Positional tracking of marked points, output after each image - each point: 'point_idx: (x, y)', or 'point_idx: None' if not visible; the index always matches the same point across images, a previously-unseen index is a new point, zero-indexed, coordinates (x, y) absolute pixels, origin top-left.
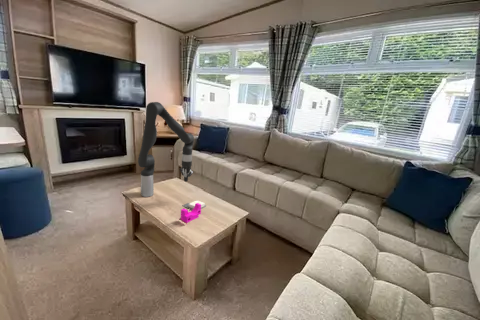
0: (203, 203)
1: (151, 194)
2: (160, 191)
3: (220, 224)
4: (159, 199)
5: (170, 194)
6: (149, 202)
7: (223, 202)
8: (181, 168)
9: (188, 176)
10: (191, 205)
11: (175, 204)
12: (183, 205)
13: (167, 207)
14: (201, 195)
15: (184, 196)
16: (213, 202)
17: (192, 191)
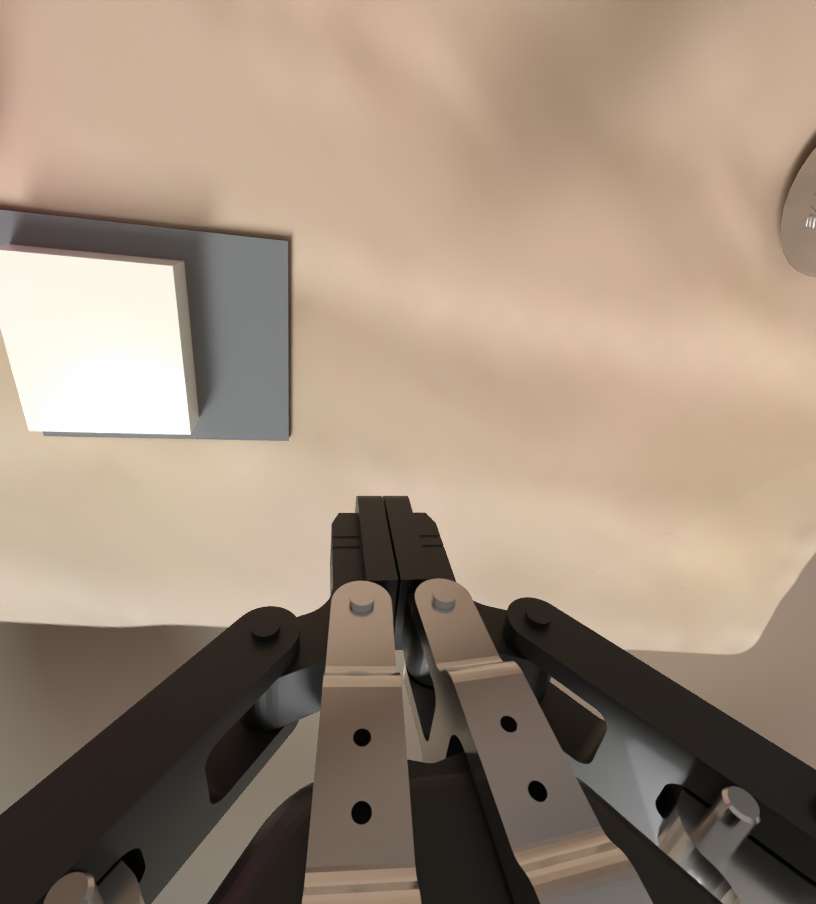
0: (32, 413)
1: (804, 197)
2: (747, 388)
3: None
4: (652, 210)
5: (614, 401)
6: (720, 35)
7: (8, 616)
8: (803, 895)
9: (213, 648)
10: (108, 259)
11: (391, 220)
12: (273, 251)
13: (412, 57)
14: (329, 583)
15: (455, 460)
16: (87, 552)
17: (467, 587)
